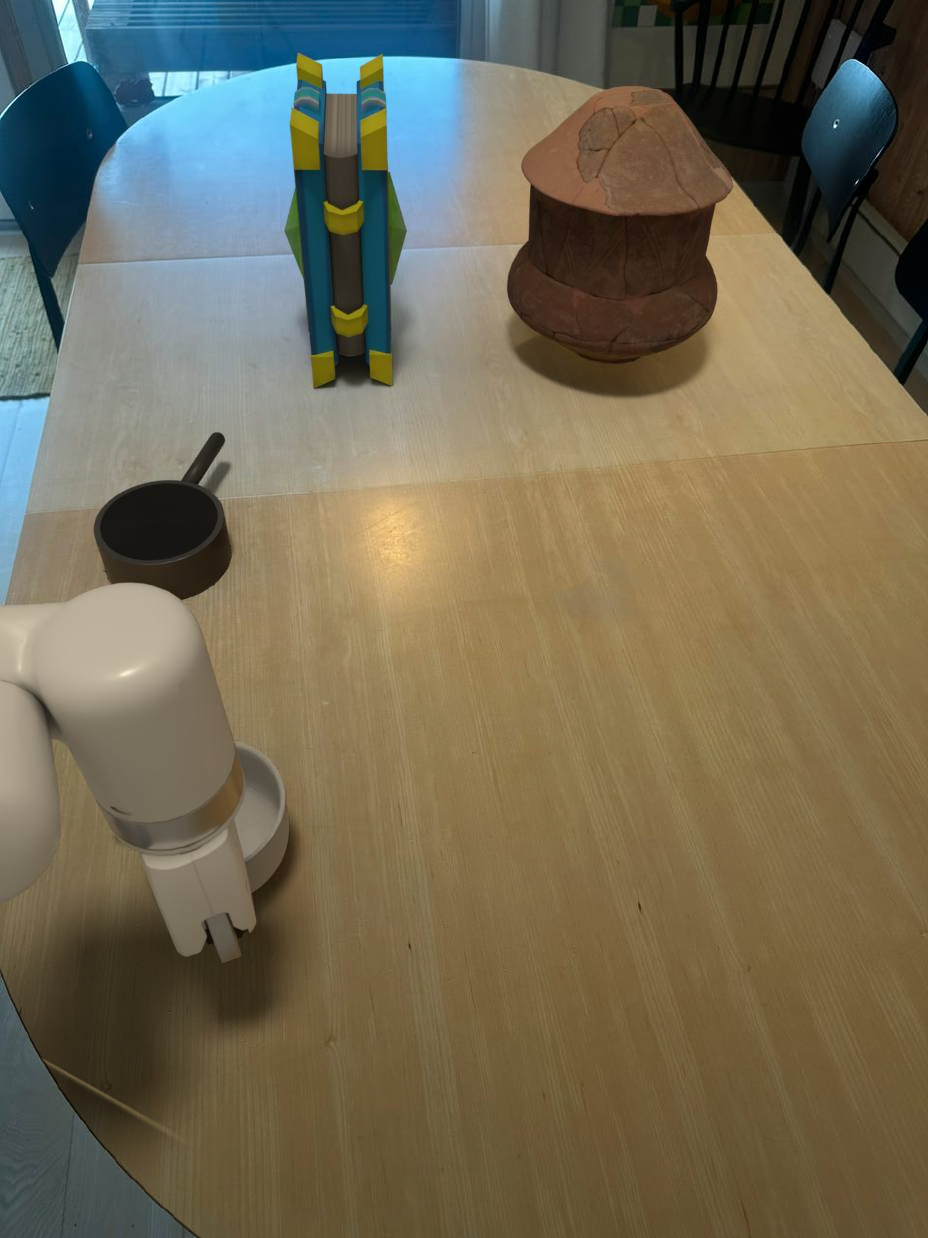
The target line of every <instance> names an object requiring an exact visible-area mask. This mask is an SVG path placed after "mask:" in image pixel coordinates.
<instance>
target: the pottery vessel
mask: <svg viewBox="0 0 928 1238" xmlns="http://www.w3.org/2000/svg"><path fill="white" fill-rule="evenodd" d="M520 169H521V172H522V174H523V176H524V178H525V179H526V180H527V182H528V183H529V184H530V185H529V186H530V187H529V208H528V209H529V211H528V237H527V238H528V240H527V241H526V242H525V243H524V244H523V245H522V246H521V247H520V248H519V250H518V251H517V253H516V255H515V257H514V258H513V260H512V262H511V265H510V268H509V271H508V274H507V282H506V293H507V298H508V302H509V304H510V306H511V307H512V310H513V311H514V312H515V314H516V315H517V317H518V318H519V319H520V320H521V321H522V322H523V323H524V324H525V325H526V326H527V327H529V328H530V329H531V330H533V331H535V332H536V333H538V334H539V335H540V336H542V337H544V338H546V339H548V340H549V341H552V342H553V343H555V344H557V345H559V346H561V347H563V348H565V349H566V350H569V351H571V352H574V353H575V354H576V355H578V356H579V357H580V358H583V359H585V360H587V361H591V362H596V363H601V364H602V363H603V364H610V365H611V364H612V365H621V364H622V365H623V364H628V363H633V362H635V361H638V360H639V359H640V358H642V357H647V356H651V355H655V354H658V353H661V352H664V351H667V350H669V349H672V348H674V347H677V346H679V345H680V344H683V343H684V342H685V341H688V340H689V339H690V338H692V337H693V336H694V335H695V334H697V333H698V332H699V331H700V330H702V329H703V328H704V327H705V326H706V325H707V324H708V322H709V321H710V320H711V319H712V316H713V314H714V313H715V310H716V306H717V302H718V301H717V300H718V294H719V293H718V291H719V289H718V282H717V277H716V274H715V271H714V270H715V269H714V267H713V266H712V263H711V262H710V260H709V258H708V257H707V251H708V246H709V242H710V236H711V231H712V230H711V229H712V223H713V219H714V214H715V209H716V205H717V204H718V203H721V202H722V201H724V200H725V199H726V198H727V197H728V195H729V194H730V193H732V190H733V189H734V182H733V177H732V175H731V173H730V171H729V170H728V168H727V167H726V166H725V164H724V163H723V162H722V161H721V160H720V159H719V158H718V157H717V156H716V154H715V153H714V152H713V151H712V150H711V148H710V146H709V145H708V144H707V142H706V141H705V139H704V138H703V137H702V135H701V133H700V132H699V130H698V129H697V128H696V126H695V125H694V123H693V121H691V119H690V117H689V116H688V115H687V114H686V113H685V112H684V110H683V109H682V108H681V107H680V105H679V104H678V103H677V101H675V99H674V98H673V97H672V96H671V95H670V94H669V93H667V92H664V91H663V90H662V89H660V88H659V89H658V88H652V87H647V86H642V85H623V86H615V87H611V88H607V89H604V90H602V91H598V92H596V93H594V94H593V95H592V96H591V97H590V98H588V100H586V101H585V102H584V103H583V104H581V105H580V106H579V107H578V108H577V109H576V110H575V111H573V113H571V114H570V115H569V116H568V117H567V118H565V119H564V120H563V121H562V122H561V123H560V124H559V125H558V126H557V127H556V128H555V129H554V130H553V131H552V132H550V133H549V134H548V135H546V136H545V137H544V138H543V139H541V140H539V142H537V143H535V144H534V145H533V146H532V147H531V148H529V150H527V152H525V155H523V158H522V161H521V166H520Z"/></svg>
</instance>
